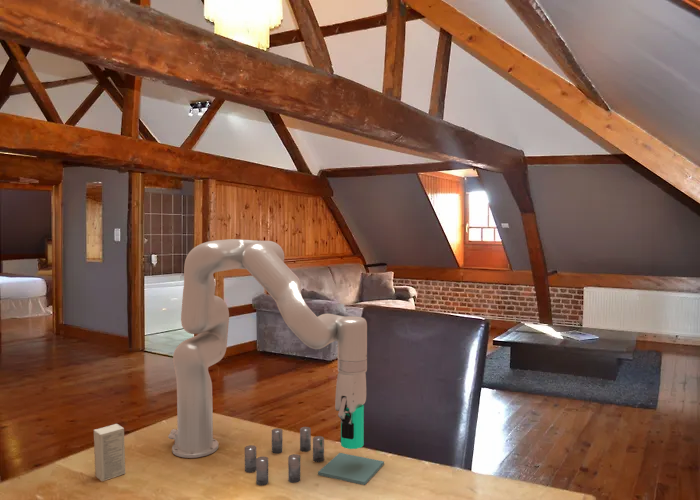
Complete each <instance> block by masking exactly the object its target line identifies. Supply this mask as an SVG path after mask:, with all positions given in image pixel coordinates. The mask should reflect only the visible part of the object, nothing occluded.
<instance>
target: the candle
mask: <svg viewBox="0 0 700 500" xmlns="http://www.w3.org/2000/svg"><path fill="white" fill-rule="evenodd" d="M346 411H349V408H346ZM364 411H365V404H363V405H362V406H361V407H358V408H356V411H354V412H353V421H352V423H354V438H353V439H347V438H342V423H341V422H340V445H341V446H340V447H342V448H344V449H349V450H356V449H361V448H362V447H363V446H364V445H365V443H364V442H365V441H364V437H365V434H364V433H365V431H364V427H365V425H364V424H365V421H364V419H365V418H364V417H365V413H364ZM345 414H346V415H347V416H348V417H349V415H350V414H348V413H345Z"/></svg>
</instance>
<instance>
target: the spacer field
mask: <svg viewBox="0 0 700 500" xmlns="http://www.w3.org/2000/svg"><path fill="white" fill-rule="evenodd" d="M311 428H312V427H309V426H303V427H300V428H299V451H300V452H304V453H306V452H307V453H308V452H309V451H311V450H312V461H313V462H314V463H323V462H324V461H325V438H324V437H323V436H321V435H317V436H313V437H312V436H311V434H312V430H311ZM311 438H312V439H311ZM283 440H284V439H283V429H282V428H277V427H276V428H273V429H272V430H271V453H272V454H276V455H277V454H282V453H283V445H284V444H283V443H284V442H283ZM311 441H312V443H311ZM311 444H312V446H311ZM311 447H312V449H311ZM287 461H288V463H287V464H288V467H287V468H288V470H287V471H288V473H287V475H288V476H287V477H288V478H287V479H288V480H287V481H288V482H289V483H291V484H296V483H299V482H300V481H301V455H300V454H296V453H295V454H293V453H292V454H289V455H288V459H287ZM244 472H245V473H247V474H251V473H255V475H256V476H255V479H256V480H255V481H256V482H255V483H256V485H258V486H266V485H268V484H269V457H268V456H263V455H262V456H258V457H257V446H256V445H246V446H245V447H244Z"/></svg>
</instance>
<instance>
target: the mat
mask: <svg viewBox="0 0 700 500" xmlns="http://www.w3.org/2000/svg"><path fill="white" fill-rule="evenodd" d="M384 465H385V461H383V460H379V459H373V458H368V457H363V456H359V455H353V454H349V453H348V454H347V453H343V452H339V453H338V454H337V455H335V456H334V457H333V458H332V459H331V460H329V462H327V464H325V465H324V466H323V467H322V468H321V469H319V470H318V472H317V475H318V476H320V477H326V478H329V479H334V480H339V481H345V482H347V483H353V484H356V485H363V486H366V484H367V483H368V482H370V480H371V479H372V478H373V477H374V476H375V475H376V473H378V471H379V470H380V469H381V468H382V467H383V466H384Z"/></svg>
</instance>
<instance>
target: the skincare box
mask: <svg viewBox="0 0 700 500" xmlns="http://www.w3.org/2000/svg"><path fill="white" fill-rule="evenodd" d="M125 446H126V445H125V428H124V426H121V425H120V424H118V423H114V424H111V425H107V426H104V427H99V428H96V429H93V448H94V451H93V452H94V475H95V478H97V479H98V480H99V481H101V482H104V481H107V480H110V479H113V478H117V477H120V476H122V475H125V474H126V454H125V453H126V452H125V451H126V449H125Z"/></svg>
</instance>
